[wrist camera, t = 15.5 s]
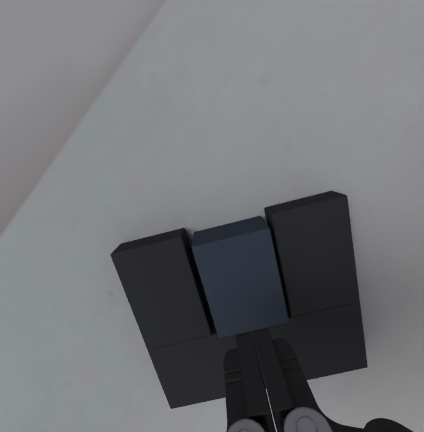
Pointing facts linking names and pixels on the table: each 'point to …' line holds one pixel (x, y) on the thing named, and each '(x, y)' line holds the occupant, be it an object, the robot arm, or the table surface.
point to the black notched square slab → (292, 331)
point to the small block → (240, 276)
